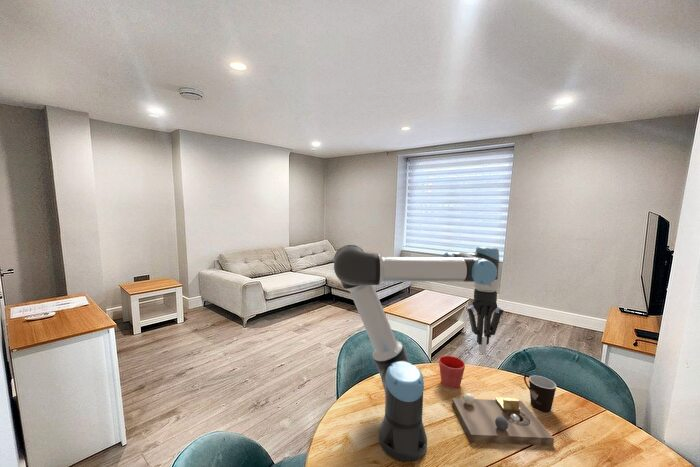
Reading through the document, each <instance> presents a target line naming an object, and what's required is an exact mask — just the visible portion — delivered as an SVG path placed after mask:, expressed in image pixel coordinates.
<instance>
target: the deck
mask: <svg viewBox="0 0 700 467" xmlns="http://www.w3.org/2000/svg"><path fill="white" fill-rule="evenodd" d="M451 400H452V403H451V405H452V407H453V409H454V412H455V413H456V415H457V417H458V419H459V421H460V423H461V425H462V427H463V430H464V431H465V433H466V435H467V438H468V439H469V441H470V443H487V444H507V445H508V444H509V445H534V446H554V444H555V443H554V442H555V441H554V440H555V438H554V437H553V435H552V434H551V433H550V432H549V430H548V429H547V428H546V427H545V426H544V424H542V422H540V420H539V419H538V418H537V417H536V415H535V414H534V413H533V412H532V411H531V410H530V409H529V408H528V406H527V405H526V404H525V403H524V402H523V401H522V400H519V408H520V411H505V410H503V409H502V408H501V407H500V405H499V404H498V403H497V401H496V400H495V399H486V398H485V399H481V398H474V400H475V401H474V403H473V404H472V405H468V404H466V403H465V402H464V398H461V397H458V398H456V397H454V398H451ZM512 413H514V414H517V415H518V416H519V418H520V422H517V421H515V420H513V419H511V418H510V417H509V416H510V414H512ZM497 417H503V418H505V419H506V420H507V422H508V428H507V429H506V430H500V429H499V428H497V426H496V424H495V420H496V418H497Z"/></svg>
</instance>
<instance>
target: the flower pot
mask: <svg viewBox="0 0 700 467" xmlns="http://www.w3.org/2000/svg"><path fill="white" fill-rule="evenodd" d="M438 364H439V365H438V366H439V373H440V374H439V375H440V381H441V382H440V383H441V384H442V385H443V386H444V387H447V388H449V389H458V388H460V386H461V384H462V380H463V376H464V372H465V367H466V364H465V362H464V361H463V359H461V358H458V357H457V356H453V355H452V356H451V355H443V356H441V357H439V358H438Z"/></svg>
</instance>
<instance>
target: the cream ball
mask: <svg viewBox="0 0 700 467" xmlns="http://www.w3.org/2000/svg"><path fill="white" fill-rule="evenodd" d="M463 399H464V402H465V403H466V404H468V405H472V404H473V403H474V401H475V400H474V399H475V396H473V394H471V393H469V392H467V393H465V394H464V395H463Z"/></svg>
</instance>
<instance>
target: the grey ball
mask: <svg viewBox="0 0 700 467" xmlns="http://www.w3.org/2000/svg"><path fill="white" fill-rule="evenodd" d="M495 424H496V426H497V428H499V429H500V430H506V429H507V428H508V422H507V420H506V419H505V418H503V417H497V418H496V420H495Z"/></svg>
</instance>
